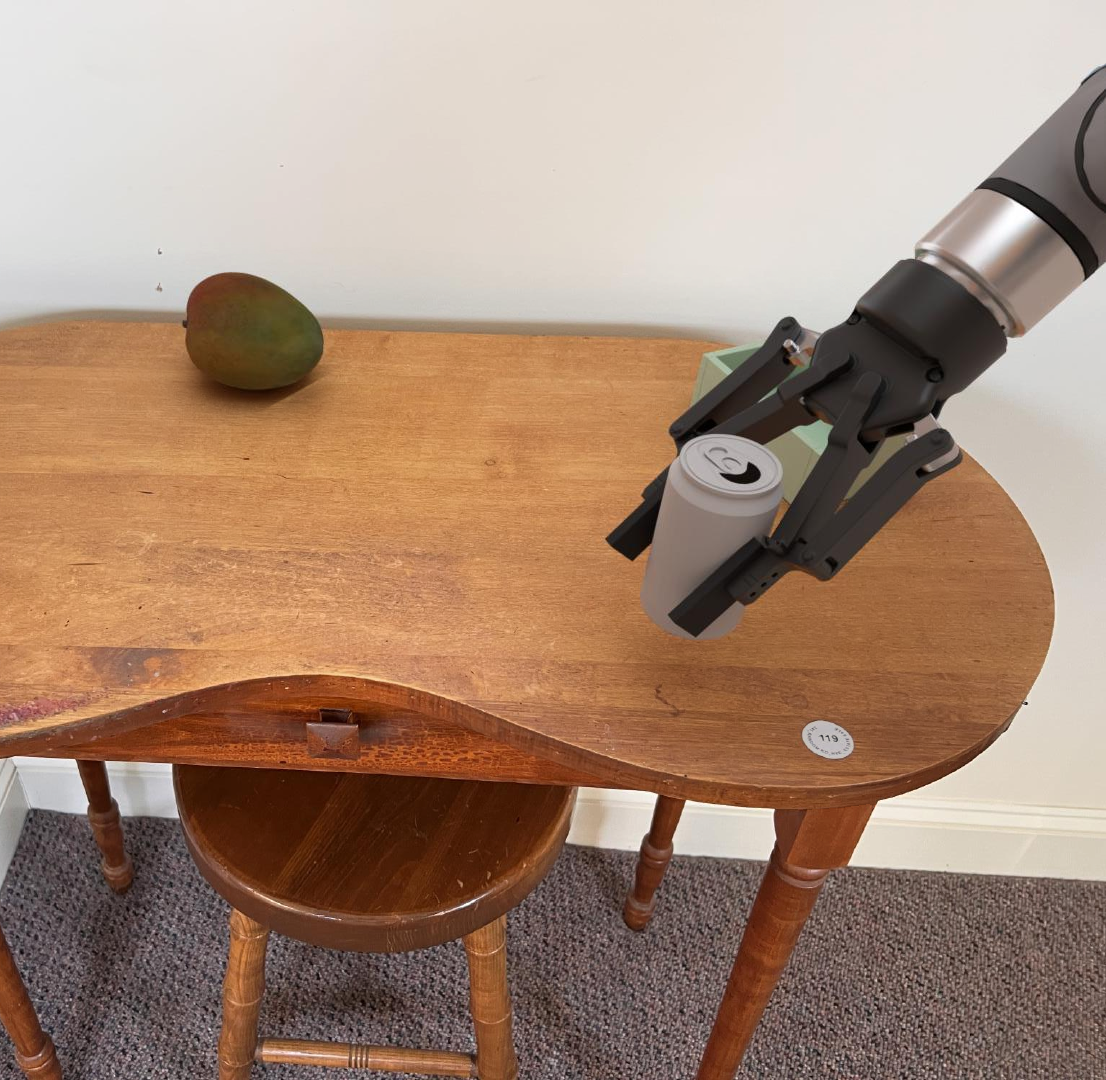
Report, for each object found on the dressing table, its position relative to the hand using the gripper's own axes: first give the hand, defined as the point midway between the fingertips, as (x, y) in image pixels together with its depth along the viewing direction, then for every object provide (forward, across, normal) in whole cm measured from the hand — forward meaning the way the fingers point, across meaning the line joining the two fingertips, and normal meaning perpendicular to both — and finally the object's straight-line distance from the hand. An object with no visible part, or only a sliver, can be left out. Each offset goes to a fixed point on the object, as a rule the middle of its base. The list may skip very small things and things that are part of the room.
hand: (649, 586), depth 63 cm
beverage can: (0, 0, -5) cm, 5 cm away
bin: (-13, +19, -27) cm, 35 cm away
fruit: (+15, +45, +2) cm, 48 cm away
